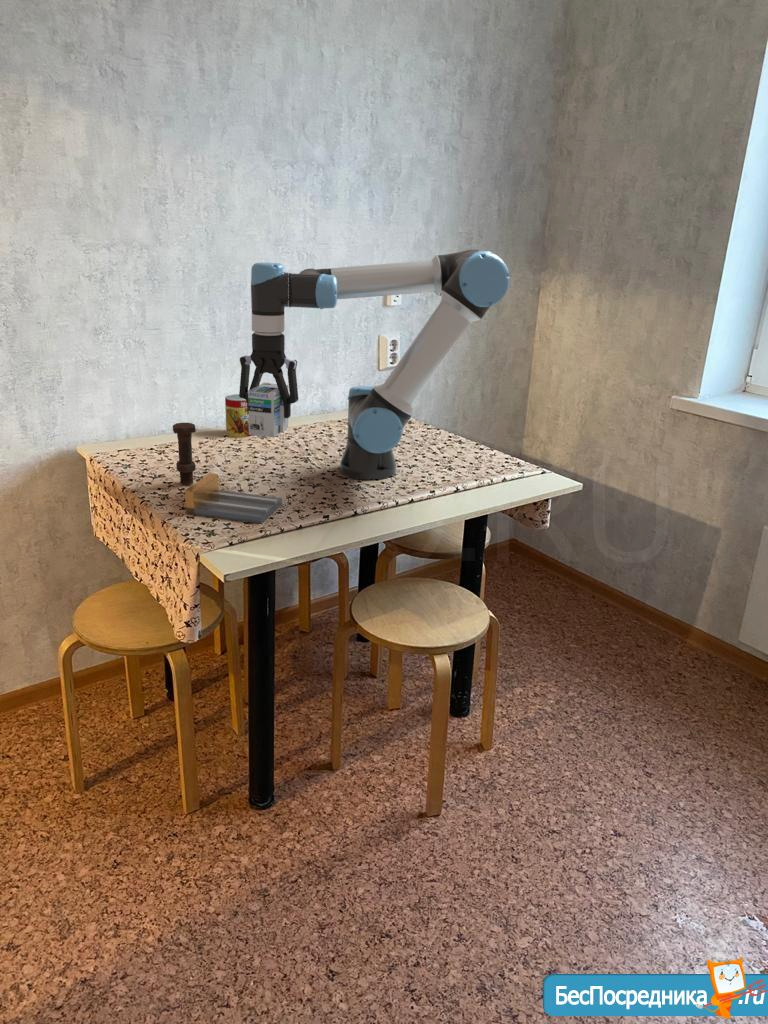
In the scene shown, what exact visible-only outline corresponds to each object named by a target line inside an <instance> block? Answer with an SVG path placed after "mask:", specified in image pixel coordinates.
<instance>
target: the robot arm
mask: <svg viewBox="0 0 768 1024" xmlns="http://www.w3.org/2000/svg"><path fill="white" fill-rule="evenodd" d="M250 269H251V273H250V275H251V276H250V278H251V279H250V298H251V299H250V301H251V331H252V332H253V333H252V334H251V349H252V351H251V354H250V355H244V356H243V355H242V356H240V358H239V363H240V367H241V369H240V380H239V392H238V394H239V397H240V398H244V399H246V401H247V412H248V414H249V410H248V391H249V390H251V389H253V388H255V387H257V386H259V385H260V384H261V381H262V377H263V375H264V374H266V373H267V374H270V375H272V376H273V379H274V380H275V384H277V386H278V389H279V392H280V395H281V398H282V401H283V404H281V405H280V432H281V433H284V432H286V431H287V430H288V428H287V418H288V419H289V418H290V417H291V412H292V411H291V410H292V409H291V408H292V406H291V405H292V404H295V403H296V402H298V401H299V391H298V379H297V367H298V361H297V360H296V359H289V358H287V356H286V354H285V349H286V348H285V346H286V345H285V341H286V338H285V336H286V335H284V332H285V308H303V309H305V308H307V309H320V310H323V309H334V308H335V307H336V306H337V302H338V300H347V299H358V298H359V299H361V298H373V297H385V296H386V297H387V296H399V295H413V294H422V293H423V294H425V293H434V294H435V295H437V296H438V297H439V296H441V297H440V298H441V301H440V303H439V304H438V305H437V306H436V308H435V310H434V311H433V313H432V314H431V315H430V317H429V319H428V320H426V321H427V322H426V323H425V324H424V325H423V327H422V328H421V330H420V331H419V332H418V334H417V336H416V337H415V338H414V340H413V342H412V343H411V344H410V346H409V347H408V348H407V350H406V351H405V352H404V354H403V356H401V358H400V360H399V361H398V362H397V364H396V366H394V368H393V370H392V371H391V372H390V374H389V375H388V377H387V378H386V380H385V381H384V382H383V384H380V385H373V386H372V385H371V386H369V385H358V386H353V387H351V388H349V391H348V397H347V400H348V408H347V409H348V410H347V436H346V437H347V438H346V439H347V440H346V441H347V444H346V445H345V448H344V451H343V454H342V456H341V459H340V462H339V472H340V474H342V475H343V476H345V475H346V477H349V478H352V479H356V478H357V479H358V480H362V479H367V481H371V480H370V479H373V480H372V481H376V480H375V479H380V480H385V479H384V478H386V479H388V478H387V477H390V476H392V475H394V474H395V473H397V462H396V459H395V455H394V452H393V449H394V448H395V447H397V446H398V444H399V443H400V441H401V439H402V436H403V432H404V431H403V429H404V428H405V426H406V425H407V423H408V422H409V420H410V419H411V418H412V417H413V415H414V411H413V404H414V403H415V401H416V400H417V399H418V397H419V396H420V394H421V393H422V392H423V390H424V389H425V387H427V384H428V383H429V382H430V381H431V379H432V378H433V377H434V375H435V373H436V372H437V371H438V369H439V368H440V366H441V365H443V364H442V363H443V362H444V361H445V360H446V358H447V357H448V356H449V354H450V352H451V351H452V350H453V348H454V347H455V345H456V344H457V343H458V341H459V340H460V338H461V337H462V336H463V334H464V333H465V331H466V330H467V328H469V326H470V324H471V323H473V322H479V321H482V319H483V317H484V316H485V314H486V313H488V310H489V309H490V308H491V307H492V306H495V305H496V304H498V303H499V302H500V301H502V299H503V298H504V297H505V295H506V294H507V292H508V290H509V287H510V281H511V280H510V279H511V278H510V273H509V269H508V266H507V265H506V263H505V262H504V261H503V259H502V258H500V257H499V256H498V255H497V254H495V253H493V252H492V251H486V250H481V249H468V250H467V249H466V250H461V251H458V252H453V253H446V254H440V255H434V256H433V258H431V259H430V260H429V259H428V260H419V261H418V260H417V261H403V262H392V263H379V264H377V263H376V264H367V265H366V264H365V265H356V266H355V265H354V266H341V267H330V268H304V269H303V270H301V271H300V272H299V273H292V272H286V269H285V266H284V264H283V263H277V262H256V263H254V264H252V265H251V268H250ZM252 362H253V365H254V366H255V370H254V372H253V377H252V379H251V383H250V374H251V372H250V371H251V364H252ZM284 365H285V368H286V369H287V381H288V389H287V386H286V385H287V382H286V381H285V378H284V372H283V371H284V370H283V368H282V367H283V366H284ZM249 384H250V385H249ZM395 475H396V474H395ZM395 475H394V476H395ZM392 477H393V476H392ZM390 478H391V477H390Z"/></svg>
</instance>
